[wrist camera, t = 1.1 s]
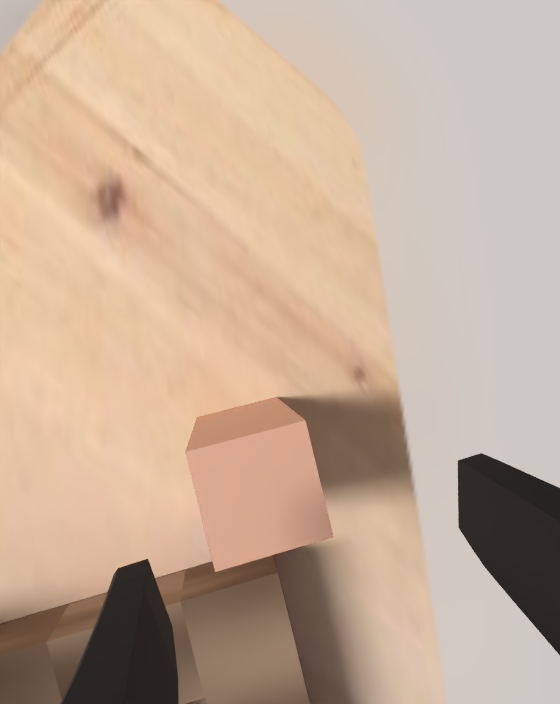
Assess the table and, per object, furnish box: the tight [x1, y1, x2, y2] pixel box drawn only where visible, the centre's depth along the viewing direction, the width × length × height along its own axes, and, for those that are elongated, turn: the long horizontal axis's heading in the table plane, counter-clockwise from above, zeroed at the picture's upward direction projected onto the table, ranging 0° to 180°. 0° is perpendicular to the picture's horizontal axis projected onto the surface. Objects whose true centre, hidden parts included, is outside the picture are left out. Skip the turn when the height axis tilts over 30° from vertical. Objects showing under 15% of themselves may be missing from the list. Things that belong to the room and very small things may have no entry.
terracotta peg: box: [186, 397, 333, 572], centre depth 20 cm, size 4×4×8 cm
